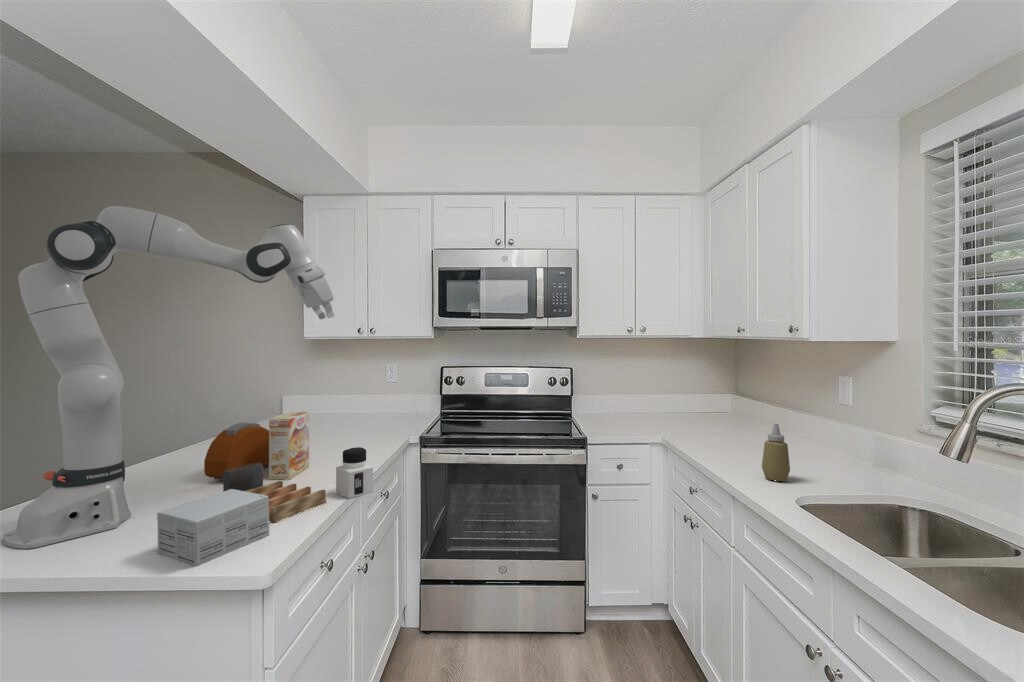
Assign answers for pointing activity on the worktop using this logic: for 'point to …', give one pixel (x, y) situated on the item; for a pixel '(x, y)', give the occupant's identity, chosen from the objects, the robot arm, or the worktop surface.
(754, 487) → the worktop surface
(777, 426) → the squeeze bottle
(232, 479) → the block
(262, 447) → the orange rounded block
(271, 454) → the coffeecake box
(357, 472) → the container
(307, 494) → the rack
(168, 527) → the supplement box
